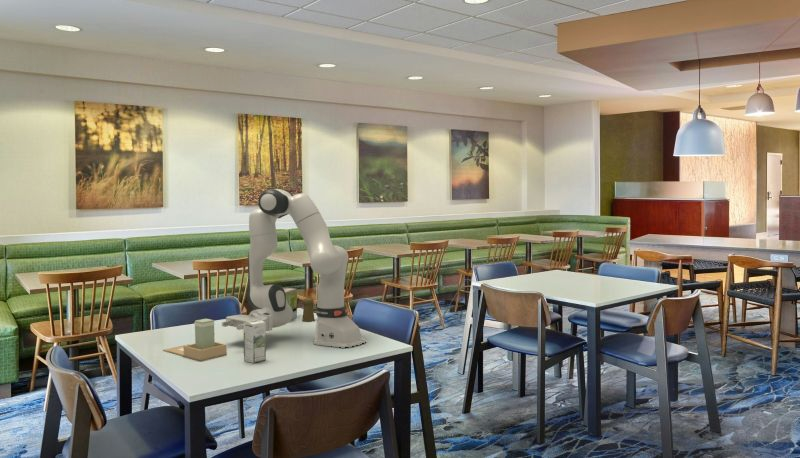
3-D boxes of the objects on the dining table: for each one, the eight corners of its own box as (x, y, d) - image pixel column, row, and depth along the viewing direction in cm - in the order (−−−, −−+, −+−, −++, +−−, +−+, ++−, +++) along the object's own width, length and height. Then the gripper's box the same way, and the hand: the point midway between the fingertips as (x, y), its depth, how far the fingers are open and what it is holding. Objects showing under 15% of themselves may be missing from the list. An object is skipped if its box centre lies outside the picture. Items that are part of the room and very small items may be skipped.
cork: (302, 322, 293) (302, 299, 293) (301, 320, 299) (300, 297, 299) (315, 321, 295) (315, 298, 294) (313, 319, 301) (313, 296, 300)
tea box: (286, 323, 292) (285, 292, 291) (266, 322, 294) (265, 292, 293) (297, 317, 306) (297, 287, 306) (278, 316, 308) (278, 287, 308)
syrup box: (256, 357, 230) (255, 319, 229) (266, 360, 226) (265, 321, 225) (243, 361, 226) (242, 321, 225) (253, 363, 222) (252, 323, 221)
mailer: (226, 354, 234) (226, 344, 234) (200, 361, 226) (200, 350, 226) (188, 345, 251) (188, 335, 251) (163, 350, 242) (162, 340, 242)
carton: (215, 354, 234) (214, 320, 233) (203, 356, 230) (202, 322, 229) (207, 352, 237) (206, 318, 237) (195, 354, 233) (194, 320, 233)
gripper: (242, 309, 259) (214, 315, 248) (274, 315, 246) (245, 321, 235) (243, 324, 259) (214, 330, 248) (274, 330, 246) (246, 337, 236)
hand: (230, 326), depth 242 cm, fingers open, 8 cm apart
